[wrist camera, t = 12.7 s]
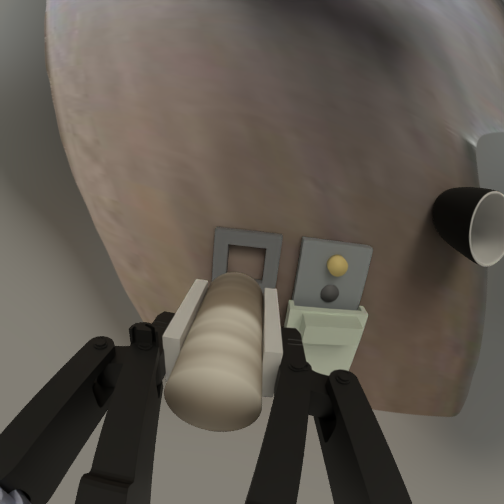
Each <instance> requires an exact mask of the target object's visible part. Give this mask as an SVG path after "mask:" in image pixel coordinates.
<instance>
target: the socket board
mask: <svg viewBox="0 0 504 504" xmlns="http://www.w3.org/2000/svg"><path fill="white" fill-rule="evenodd" d="M282 238H283V235H282V234H278V233H269V232H261V231H252V230H243V229H234V228H225V227H216V228H215V239H214V253H213V269H212V282H213V280H214V279H216V278H217V277H218V276H220V275H222V274H225V273H227V265H228V253H229V244H231V245H240V246H249V247H257V248H266V255H265V263H264V270H263V278H262V280H257V279H254V280H255V281H256V282H257V283H258V284H259V286H260V287H261V289H262V292H263V296H264V289H265V288H272V289H275V286H276V280H277V273H278V266H279V259H280V252H281V245H282Z"/></svg>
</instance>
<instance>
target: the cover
mask: <svg viewBox="0 0 504 504" xmlns="http://www.w3.org/2000/svg"><path fill="white" fill-rule="evenodd" d="M367 318H368V313H367V312H366V310H365V308H364V307H363V306H359V308H358V311H357V310H342V309H329V308H316V307H305V306H294V300H289V302H288V307H287V313H286V318H285V323H284V327H287V328H296V329H297V330H298V331H299V332H300V333H301V337H302V342H303V347H304V352H305V357H306V362H308V363H309V364H310V365H311V367H312V370H313V371H315V372H317V373H320V374H324V375H328V376H329V375H330V373H331V372H332V371H334V370H339V369H341V370H347V371H349V368H350V366H351V363H352V361H353V358H354V355H355V353H356V350H357V347H358V345H359V342H360V339H361V336H362V333H363V330H364V327H365V324H366V321H367Z"/></svg>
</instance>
